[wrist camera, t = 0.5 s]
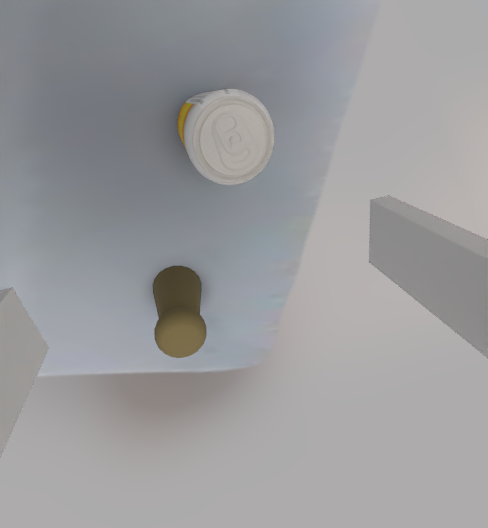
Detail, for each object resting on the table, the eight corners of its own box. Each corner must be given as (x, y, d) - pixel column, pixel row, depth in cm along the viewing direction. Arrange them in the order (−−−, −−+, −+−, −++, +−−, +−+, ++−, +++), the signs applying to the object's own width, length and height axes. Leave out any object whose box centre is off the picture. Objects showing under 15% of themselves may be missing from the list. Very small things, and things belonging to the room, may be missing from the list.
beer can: (195, 166, 36) (214, 204, 23) (165, 109, 33) (167, 117, 20) (245, 139, 36) (292, 163, 23) (219, 81, 33) (257, 69, 20)
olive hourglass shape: (176, 256, 40) (180, 306, 30) (211, 285, 43) (225, 339, 33) (142, 289, 41) (135, 347, 31) (178, 315, 44) (182, 376, 34)
